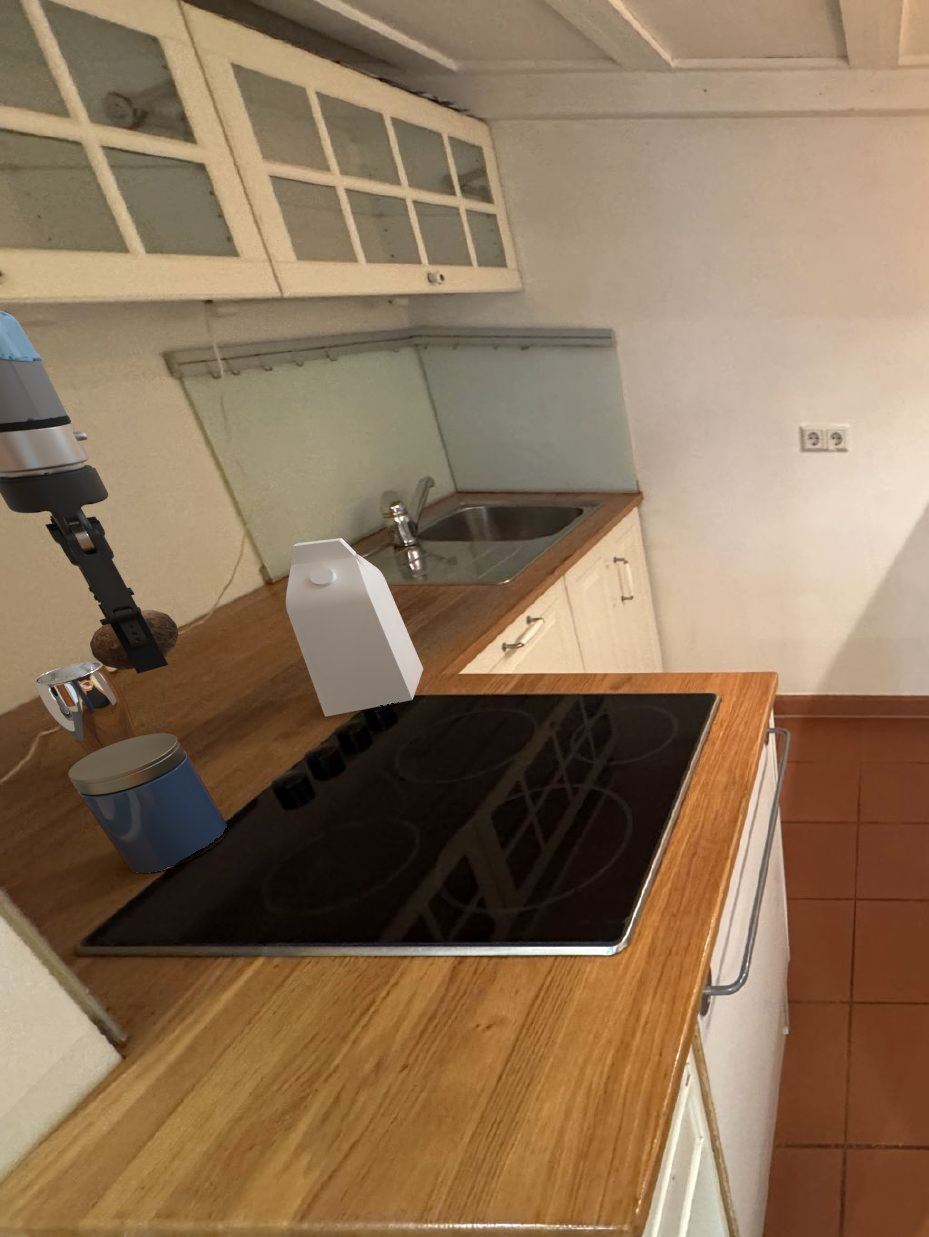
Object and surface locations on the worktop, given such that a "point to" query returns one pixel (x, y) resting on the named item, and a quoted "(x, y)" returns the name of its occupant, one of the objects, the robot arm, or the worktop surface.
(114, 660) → the brown potato
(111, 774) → the jar lid
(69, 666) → the shiny silver metal cup
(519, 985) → the worktop surface
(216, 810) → the jar
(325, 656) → the milk
